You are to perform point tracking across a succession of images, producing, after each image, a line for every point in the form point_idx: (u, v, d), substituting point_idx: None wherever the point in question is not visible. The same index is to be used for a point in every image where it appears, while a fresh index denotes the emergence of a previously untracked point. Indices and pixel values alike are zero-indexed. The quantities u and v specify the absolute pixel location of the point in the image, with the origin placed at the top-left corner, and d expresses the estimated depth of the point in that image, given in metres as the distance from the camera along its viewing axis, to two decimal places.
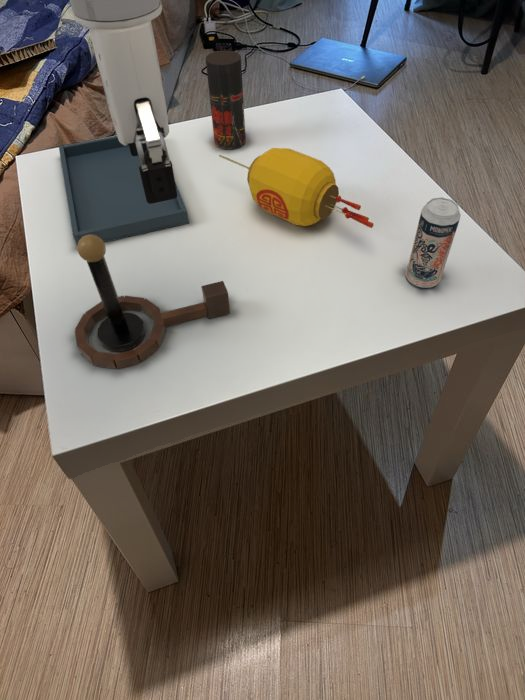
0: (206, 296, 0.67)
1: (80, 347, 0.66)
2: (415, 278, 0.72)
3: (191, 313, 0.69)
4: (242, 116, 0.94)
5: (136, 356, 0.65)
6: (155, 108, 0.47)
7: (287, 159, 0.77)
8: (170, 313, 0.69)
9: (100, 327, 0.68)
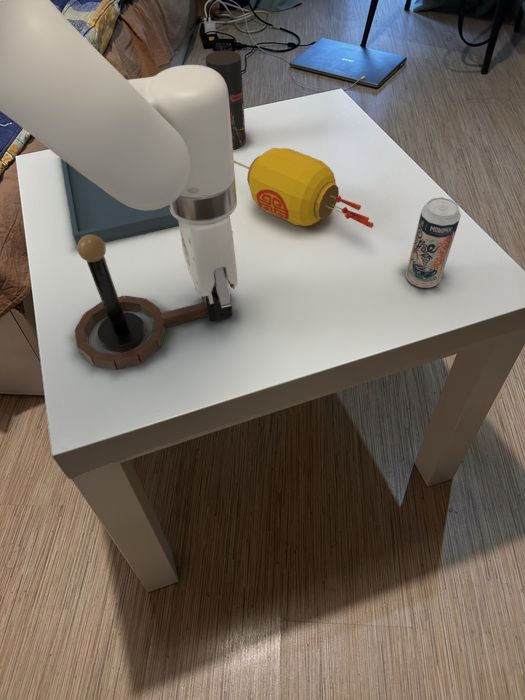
0: (206, 296, 0.67)
1: (80, 347, 0.66)
2: (415, 278, 0.72)
3: (191, 313, 0.69)
4: (242, 116, 0.94)
5: (136, 356, 0.65)
6: (229, 272, 0.60)
7: (287, 159, 0.77)
8: (170, 313, 0.69)
9: (100, 327, 0.68)
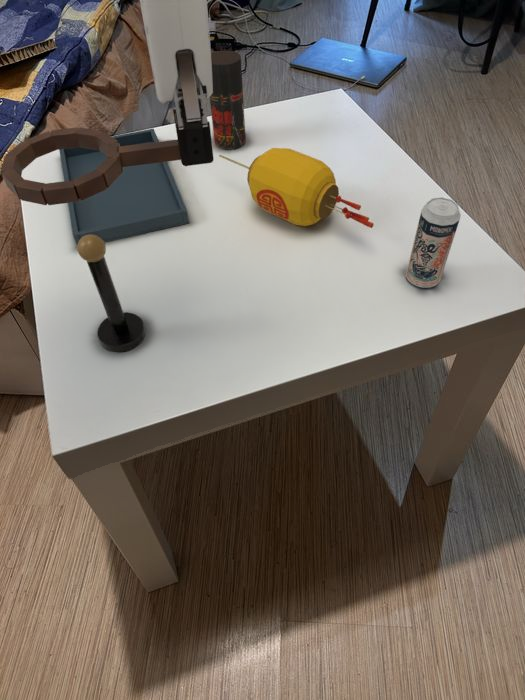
0: (177, 123, 0.50)
1: (4, 173, 0.49)
2: (415, 279, 0.72)
3: (159, 150, 0.52)
4: (242, 116, 0.94)
5: (72, 188, 0.48)
6: (198, 62, 0.42)
7: (287, 159, 0.77)
8: (131, 147, 0.52)
9: (100, 327, 0.68)
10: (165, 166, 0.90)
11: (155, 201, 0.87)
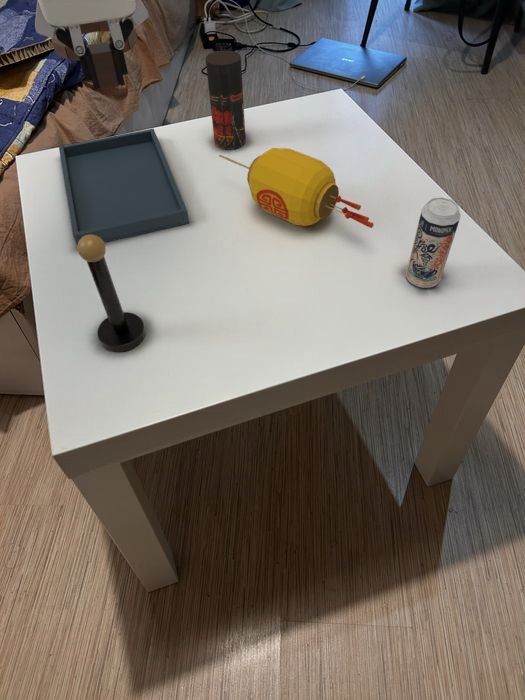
0: (90, 45, 0.62)
1: None
2: (415, 278, 0.72)
3: None
4: (242, 116, 0.94)
5: (52, 42, 0.70)
6: None
7: (287, 159, 0.77)
8: None
9: (100, 327, 0.68)
10: (165, 166, 0.90)
11: (155, 201, 0.87)
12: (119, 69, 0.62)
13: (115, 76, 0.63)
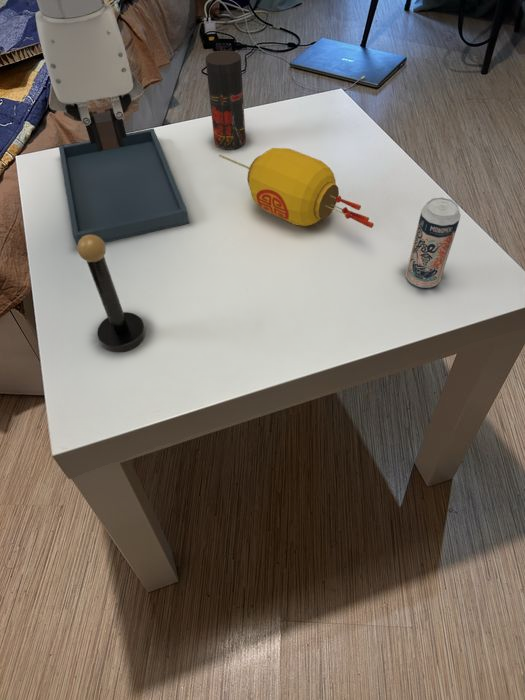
0: (94, 114, 0.73)
1: None
2: (415, 278, 0.72)
3: None
4: (242, 116, 0.94)
5: None
6: None
7: (287, 159, 0.77)
8: None
9: (100, 327, 0.68)
10: (165, 166, 0.90)
11: (155, 201, 0.87)
12: (119, 134, 0.73)
13: (116, 140, 0.74)
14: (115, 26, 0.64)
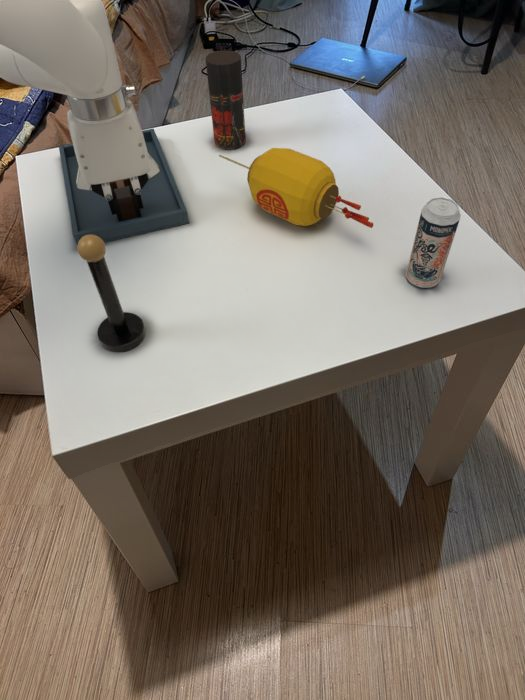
0: (115, 189, 0.83)
1: None
2: (415, 278, 0.72)
3: None
4: (242, 116, 0.94)
5: None
6: (78, 163, 0.75)
7: (287, 159, 0.77)
8: (120, 184, 0.88)
9: (100, 327, 0.68)
10: (165, 166, 0.90)
11: (155, 201, 0.87)
12: (137, 207, 0.83)
13: (134, 211, 0.83)
14: (136, 122, 0.73)
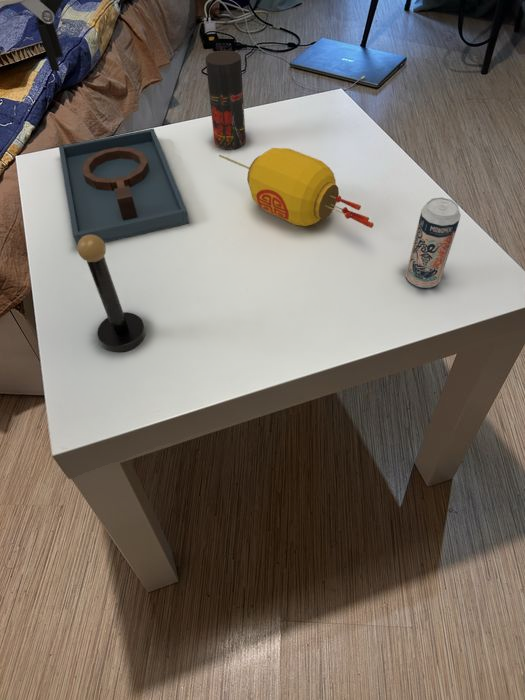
0: (115, 189, 0.83)
1: (100, 151, 0.95)
2: (415, 279, 0.72)
3: None
4: (242, 116, 0.94)
5: None
6: None
7: (287, 159, 0.77)
8: (120, 184, 0.88)
9: (100, 327, 0.68)
10: (165, 166, 0.90)
11: (155, 201, 0.87)
12: (50, 50, 0.48)
13: (134, 211, 0.83)
14: None
